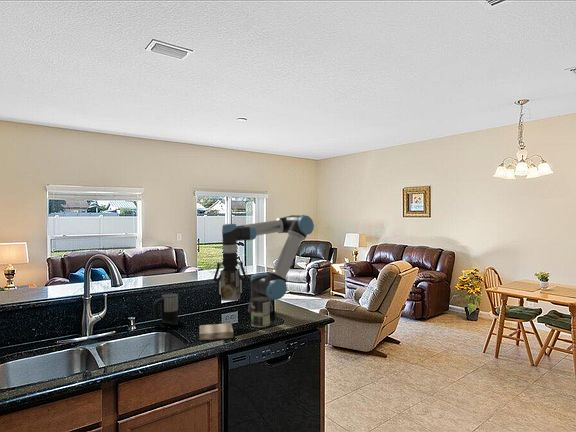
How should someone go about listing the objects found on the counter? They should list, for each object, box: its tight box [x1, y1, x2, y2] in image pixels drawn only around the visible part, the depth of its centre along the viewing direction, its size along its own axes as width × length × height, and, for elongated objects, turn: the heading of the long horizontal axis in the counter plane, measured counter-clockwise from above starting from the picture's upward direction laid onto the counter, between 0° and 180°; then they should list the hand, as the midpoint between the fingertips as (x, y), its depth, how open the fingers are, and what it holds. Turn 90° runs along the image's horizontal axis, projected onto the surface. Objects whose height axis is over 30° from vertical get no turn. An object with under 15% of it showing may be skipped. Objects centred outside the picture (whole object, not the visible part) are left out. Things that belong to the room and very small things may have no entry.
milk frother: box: [152, 293, 180, 327], centre depth 203 cm, size 14×16×15 cm
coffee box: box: [219, 268, 241, 302], centre depth 200 cm, size 9×6×16 cm
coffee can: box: [250, 297, 271, 328], centre depth 199 cm, size 10×10×14 cm
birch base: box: [198, 322, 234, 341], centre depth 183 cm, size 16×14×3 cm
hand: (230, 293), depth 200 cm, fingers closed on coffee box, 10 cm apart
